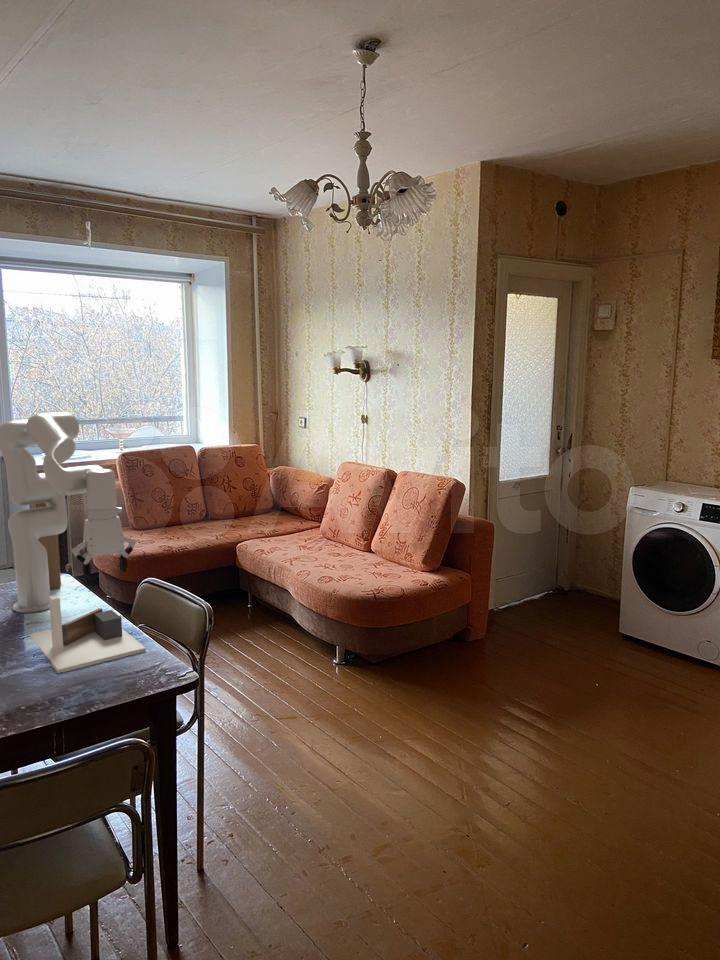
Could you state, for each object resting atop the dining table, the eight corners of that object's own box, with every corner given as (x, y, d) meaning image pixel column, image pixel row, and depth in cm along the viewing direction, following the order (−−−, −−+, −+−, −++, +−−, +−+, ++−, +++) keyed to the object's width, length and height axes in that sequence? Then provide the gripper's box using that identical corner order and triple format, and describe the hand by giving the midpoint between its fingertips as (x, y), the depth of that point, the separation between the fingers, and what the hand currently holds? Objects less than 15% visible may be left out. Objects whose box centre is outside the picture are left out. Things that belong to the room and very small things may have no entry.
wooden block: (29, 592, 238) (25, 535, 235) (28, 584, 247) (24, 529, 244) (61, 588, 243) (57, 532, 240) (59, 580, 252) (55, 526, 249)
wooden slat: (61, 644, 190) (60, 625, 189) (99, 626, 204) (98, 608, 203) (65, 645, 190) (64, 626, 189) (103, 626, 203) (102, 608, 202)
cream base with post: (28, 637, 199) (24, 586, 196) (108, 620, 212) (105, 572, 210) (58, 673, 175) (53, 616, 173) (145, 651, 189) (142, 598, 187)
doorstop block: (95, 632, 200) (93, 613, 199) (112, 628, 203) (111, 609, 202) (104, 640, 194) (103, 621, 193) (122, 636, 197) (121, 617, 196)
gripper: (128, 507, 200) (131, 565, 203) (65, 515, 190) (69, 576, 193) (138, 512, 195) (141, 571, 197) (74, 520, 184) (77, 582, 187)
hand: (105, 573), depth 195 cm, fingers open, 9 cm apart
